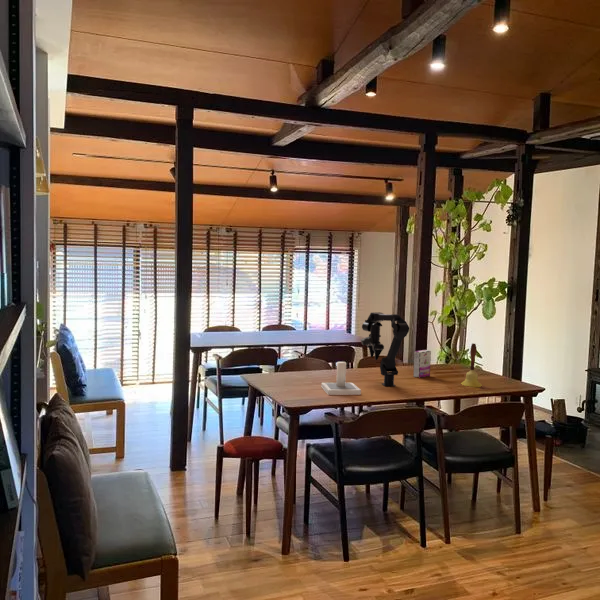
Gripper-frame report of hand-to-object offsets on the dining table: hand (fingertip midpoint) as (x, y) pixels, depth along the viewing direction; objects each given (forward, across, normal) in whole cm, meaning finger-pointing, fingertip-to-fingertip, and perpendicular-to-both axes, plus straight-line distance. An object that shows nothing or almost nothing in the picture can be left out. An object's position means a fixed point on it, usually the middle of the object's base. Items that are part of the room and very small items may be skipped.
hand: (373, 358), depth 340 cm
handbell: (+13, +14, +57) cm, 60 cm away
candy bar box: (+13, -10, +35) cm, 39 cm away
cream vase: (+10, +28, -27) cm, 40 cm away
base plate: (+13, +28, -27) cm, 41 cm away
